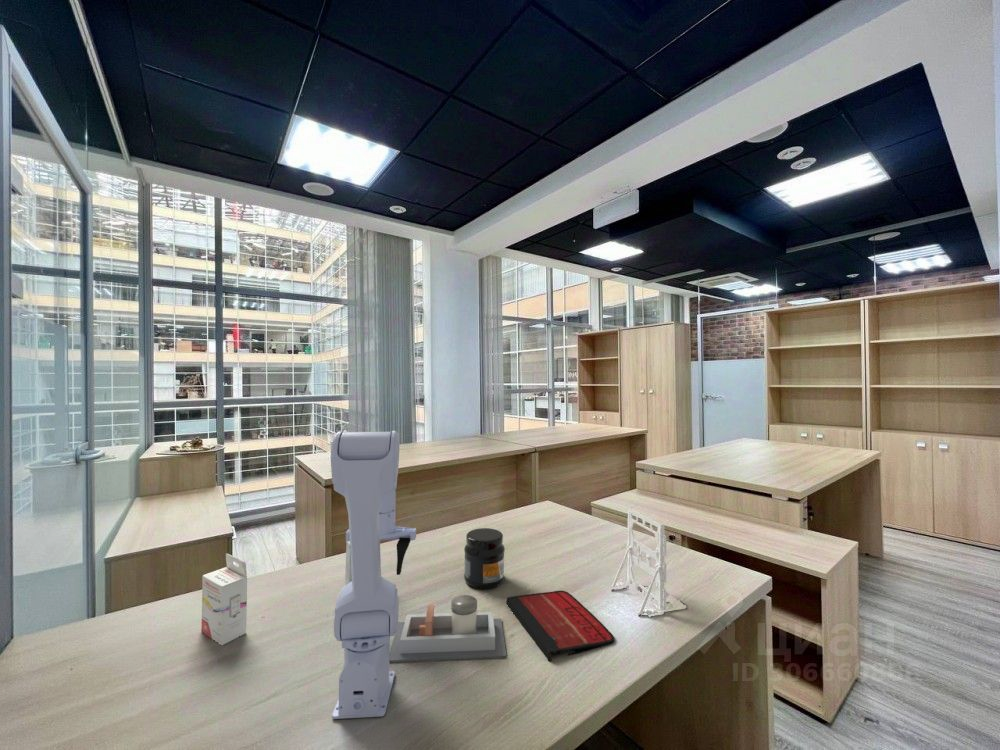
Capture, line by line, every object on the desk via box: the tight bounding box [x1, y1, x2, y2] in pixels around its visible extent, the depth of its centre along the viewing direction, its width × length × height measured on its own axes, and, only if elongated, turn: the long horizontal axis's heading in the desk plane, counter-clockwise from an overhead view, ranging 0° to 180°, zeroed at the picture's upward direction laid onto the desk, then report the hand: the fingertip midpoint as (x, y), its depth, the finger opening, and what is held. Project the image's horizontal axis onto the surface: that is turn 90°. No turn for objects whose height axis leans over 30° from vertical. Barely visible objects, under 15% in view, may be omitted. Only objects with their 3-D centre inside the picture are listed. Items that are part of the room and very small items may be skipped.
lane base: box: [389, 611, 507, 664], centre depth 82 cm, size 12×22×3 cm, turn 94°
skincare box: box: [344, 540, 352, 586], centre depth 101 cm, size 6×4×12 cm
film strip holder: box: [611, 507, 667, 615], centre depth 99 cm, size 14×14×20 cm
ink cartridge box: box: [200, 552, 248, 646], centre depth 84 cm, size 9×5×15 cm, turn 59°
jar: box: [450, 594, 478, 635], centre depth 83 cm, size 5×5×7 cm
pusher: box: [419, 604, 435, 636], centre depth 82 cm, size 6×3×5 cm, turn 4°
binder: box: [505, 590, 615, 663], centre depth 89 cm, size 16×2×21 cm
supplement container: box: [463, 527, 506, 590], centre depth 107 cm, size 10×10×12 cm
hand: (380, 573), depth 88 cm, fingers open, 7 cm apart
